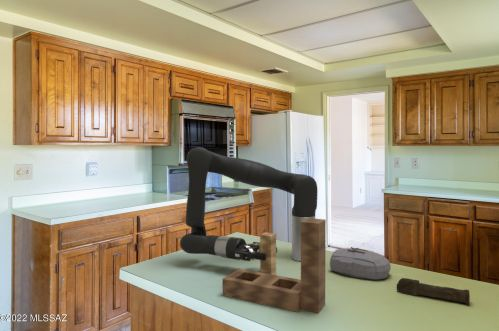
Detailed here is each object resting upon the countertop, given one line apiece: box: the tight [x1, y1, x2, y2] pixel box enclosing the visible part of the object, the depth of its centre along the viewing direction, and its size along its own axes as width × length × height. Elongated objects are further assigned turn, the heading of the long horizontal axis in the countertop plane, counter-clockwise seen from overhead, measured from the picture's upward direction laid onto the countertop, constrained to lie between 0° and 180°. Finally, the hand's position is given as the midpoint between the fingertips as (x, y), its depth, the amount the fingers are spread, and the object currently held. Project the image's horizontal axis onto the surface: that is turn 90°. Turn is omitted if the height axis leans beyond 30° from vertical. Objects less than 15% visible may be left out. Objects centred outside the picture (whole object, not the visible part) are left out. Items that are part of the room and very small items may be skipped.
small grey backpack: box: [329, 246, 392, 280], centre depth 126 cm, size 15×8×20 cm
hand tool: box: [396, 277, 471, 306], centre depth 105 cm, size 19×4×5 cm, turn 59°
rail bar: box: [259, 232, 277, 275], centre depth 120 cm, size 4×4×15 cm
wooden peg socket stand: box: [222, 218, 327, 314], centre depth 104 cm, size 29×10×24 cm, turn 61°
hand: (271, 253), depth 120 cm, fingers open, 8 cm apart
